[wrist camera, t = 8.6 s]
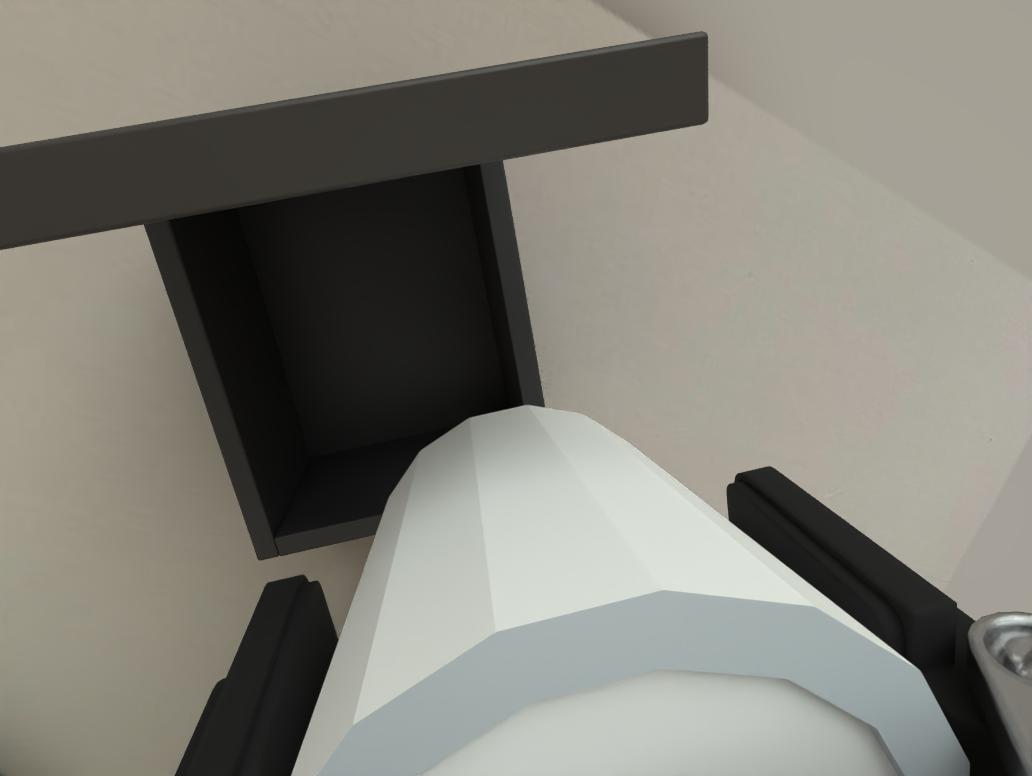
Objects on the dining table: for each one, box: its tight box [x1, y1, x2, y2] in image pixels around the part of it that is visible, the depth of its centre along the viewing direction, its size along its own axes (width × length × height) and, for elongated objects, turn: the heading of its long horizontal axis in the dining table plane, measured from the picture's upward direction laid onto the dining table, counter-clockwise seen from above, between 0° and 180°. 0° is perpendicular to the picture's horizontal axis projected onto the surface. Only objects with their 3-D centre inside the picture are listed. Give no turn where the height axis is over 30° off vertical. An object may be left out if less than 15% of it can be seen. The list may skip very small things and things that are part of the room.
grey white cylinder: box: [291, 405, 970, 776], centre depth 9 cm, size 7×7×7 cm
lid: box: [0, 31, 708, 250], centre depth 12 cm, size 15×12×1 cm
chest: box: [144, 160, 545, 560], centre depth 26 cm, size 15×12×9 cm
